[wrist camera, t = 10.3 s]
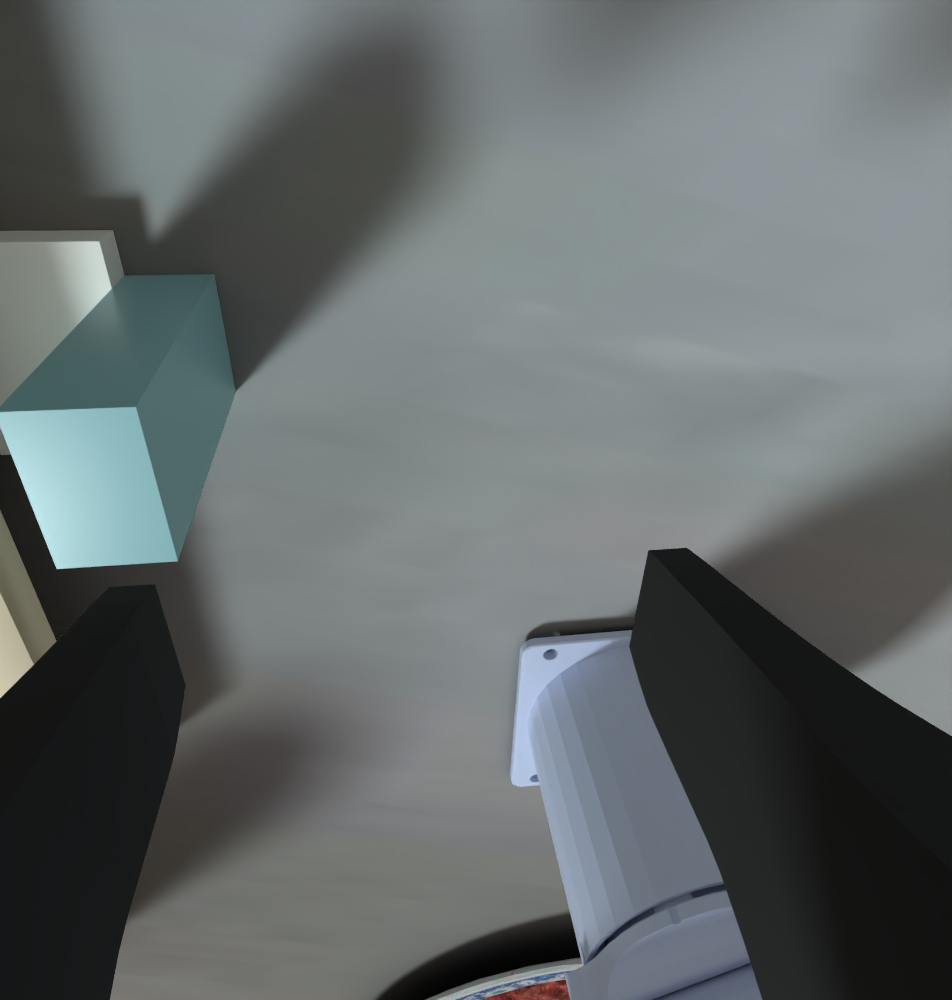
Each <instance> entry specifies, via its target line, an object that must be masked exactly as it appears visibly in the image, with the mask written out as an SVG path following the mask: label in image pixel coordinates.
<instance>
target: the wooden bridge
mask: <svg viewBox="0 0 952 1000" xmlns="http://www.w3.org/2000/svg"><path fill="white" fill-rule="evenodd" d="M55 642H56V639H55V637H54V634H53V632H52V630H51V627H50V625H49V623H48V620H47V618H46V616H45V613H44V611H43V609H42V606H41V604H40V602H39V599H38V597H37V595H36V592H35V590H34V588H33V585H32V583H31V581H30V578H29V576H28V574H27V571H26V569H25V567H24V564H23V562H22V560H21V557H20V555H19V553H18V550H17V548H16V546H15V543H14V541H13V539H12V536H11V534H10V532H9V529H8V527H7V525H6V522H5V520H4V518H3V515H2V513H1V511H0V698H1V697H2V696H3V695H4V694H5V693H6V692H7V691H8V690H9V689H10V688H11V687H12V686H13V685H14V684H15V683H16V682H17V681H18V680H19V679H20V678H21V677H22V676H23V675H24V674H25V673H26V672H27V671H28V670H29V669H30V668H31V667H32V666H33V665H34V664H35V663H36V662H37V661H38V660H39V659H40V658H41V657H42V656H43V655H44V654H45V653H46V652H47V651H48V650H49V649H50V648H51V646H52V645H53V644H54V643H55Z"/></svg>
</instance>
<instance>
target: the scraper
mask: <svg viewBox="0 0 952 1000" xmlns="http://www.w3.org/2000/svg"><path fill="white" fill-rule="evenodd" d="M235 393H236V390H235V384H234V379H233V373H232V368H231V362H230V357H229V351H228V346H227V340H226V335H225V329H224V324H223V318H222V313H221V307H220V302H219V296H218V291H217V285H216V280H215V274H187V275H124V272H123V268H122V264H121V260H120V256H119V252H118V248H117V244H116V240H115V236H114V232H113V230H58V231H0V455H12V458H13V460H14V463H15V465H16V468H17V471H18V473H19V476H20V478H21V481H22V483H23V486H24V488H25V491H26V493H27V496H28V498H29V501H30V503H31V506H32V508H33V511H34V513H35V516H36V518H37V521H38V523H39V526H40V528H41V531H42V533H43V536H44V539H45V541H46V544H47V546H48V549H49V551H50V554H51V556H52V559H53V561H54V564H55V566H56V569H66V568H81V567H97V566H112V565H128V564H144V563H159V562H175V561H178V559H179V556H180V553H181V551H182V548H183V545H184V542H185V539H186V536H187V533H188V530H189V527H190V524H191V521H192V518H193V515H194V513H195V510H196V507H197V504H198V501H199V498H200V495H201V492H202V489H203V486H204V483H205V480H206V477H207V474H208V472H209V469H210V466H211V463H212V460H213V457H214V454H215V451H216V448H217V445H218V442H219V439H220V436H221V434H222V431H223V428H224V425H225V422H226V419H227V416H228V413H229V410H230V407H231V404H232V401H233V398H234V395H235Z"/></svg>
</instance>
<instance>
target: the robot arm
mask: <svg viewBox="0 0 952 1000" xmlns="http://www.w3.org/2000/svg"><path fill="white" fill-rule="evenodd" d="M550 649H553V650H552V651H548V652H546V651H547V650H550ZM184 690H185V683H184V679H183V676H182V673H181V669H180V666H179V663H178V659H177V656H176V653H175V649H174V646H173V643H172V640H171V636H170V633H169V630H168V626H167V623H166V620H165V616H164V613H163V610H162V606H161V603H160V600H159V596H158V593H157V590H156V586H155V584H153V585H139V586H124V587H110V588H108V589H107V590H106V591H105V592H104V593H103V594H102V595H101V596H100V597H99V598H98V599H97V600H96V601H95V602H94V603H93V604H92V605H91V606H90V607H89V608H88V609H87V610H86V611H85V612H84V613H83V614H82V616H81V617H80V618H79V619H78V620H77V621H76V622H75V623H74V624H73V625H72V626H71V627H70V628H69V629H68V630H67V631H66V632H65V633H64V634H63V635H62V636H61V637H60V638H59V639H58V640H57V641H56V642H55V643H54V644H53V645H52V646H51V648H50V649H49V650H48V651H47V652H46V653H45V654H44V655H43V656H42V657H41V658H40V659H39V660H38V661H37V662H36V663H35V664H34V665H33V666H32V667H31V668H30V669H29V670H28V671H27V672H26V673H25V674H24V675H23V676H22V677H21V678H20V679H19V680H18V681H17V682H16V683H15V684H14V685H13V686H12V687H11V688H10V689H9V690H8V691H7V692H6V693H5V694H4V695H3V696H2V697H1V698H0V1000H110V995H111V990H112V985H113V979H114V974H115V969H116V964H117V958H118V953H119V949H120V945H121V941H122V937H123V933H124V929H125V925H126V921H127V917H128V913H129V909H130V906H131V903H132V899H133V896H134V892H135V889H136V886H137V882H138V879H139V875H140V872H141V868H142V865H143V862H144V858H145V855H146V851H147V848H148V844H149V841H150V838H151V834H152V831H153V827H154V824H155V821H156V817H157V814H158V810H159V807H160V803H161V800H162V796H163V793H164V789H165V786H166V782H167V779H168V775H169V772H170V768H171V765H172V761H173V757H174V754H175V748H176V743H177V737H178V731H179V725H180V718H181V711H182V704H183V697H184ZM510 776H511V780H512V783H513V784H514V785H516V786H519V787H524V786H533V785H540V788H541V793H542V797H543V801H544V805H545V809H546V814H547V818H548V822H549V826H550V830H551V835H552V839H553V843H554V847H555V851H556V856H557V860H558V864H559V868H560V872H561V877H562V881H563V885H564V889H565V893H566V898H567V902H568V906H569V910H570V914H571V918H572V923H573V927H574V931H575V935H576V939H577V944H578V948H579V952H580V956H581V960H582V965H583V966H582V967H580V968H578V969H576V970H574V971H572V972H569V973H567V975H566V976H565V978H566V983H567V987H568V992H569V997H570V1000H952V736H950V735H949V734H947V733H945V732H944V731H942V730H940V729H939V728H937V727H935V726H934V725H932V724H930V723H929V722H927V721H925V720H924V719H922V718H920V717H919V716H917V715H916V714H914V713H912V712H911V711H909V710H907V709H906V708H904V707H902V706H901V705H899V704H897V703H896V702H894V701H893V700H891V699H890V698H888V697H887V696H885V695H883V694H882V693H880V692H879V691H877V690H876V689H874V688H873V687H871V686H870V685H868V684H867V683H865V682H864V681H863V680H861V679H860V678H858V677H857V676H855V675H854V674H852V673H851V672H849V671H848V670H847V669H845V668H844V667H842V666H841V665H839V664H838V663H836V662H835V661H834V660H832V659H831V658H829V657H828V656H826V655H825V654H824V653H822V652H821V651H820V650H818V649H817V648H816V647H814V646H813V645H811V644H810V643H809V642H807V641H806V640H805V639H803V638H802V637H801V636H799V635H798V634H797V633H795V632H794V631H793V630H791V629H790V628H789V627H787V626H786V625H785V624H783V623H782V622H781V621H780V620H778V619H777V618H776V617H774V616H773V615H772V614H771V613H769V612H768V611H767V610H765V609H764V608H763V607H762V606H760V605H759V604H758V603H756V602H755V601H754V600H753V599H751V598H750V597H749V596H748V595H746V594H745V593H744V592H743V591H741V590H740V589H739V588H738V587H736V586H735V585H734V584H733V583H731V582H730V581H729V580H728V579H726V578H725V577H724V576H723V575H721V574H720V573H719V572H718V571H716V570H715V569H714V568H712V567H711V566H710V565H709V564H707V563H706V562H705V561H704V560H702V559H701V558H700V557H698V556H697V555H696V554H694V553H693V552H692V551H690V550H689V549H687V548H678V549H663V550H649V551H648V555H647V560H646V565H645V570H644V575H643V580H642V585H641V590H640V595H639V600H638V605H637V610H636V615H635V620H634V625H633V630H627V631H615V632H603V633H591V634H579V635H567V636H555V637H543V638H534V639H530V640H528V641H526V642H525V643H524V644H523V645H522V646H521V649H520V659H519V671H518V683H517V695H516V707H515V719H514V732H513V744H512V756H511V768H510Z"/></svg>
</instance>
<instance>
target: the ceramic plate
mask: <svg viewBox="0 0 952 1000" xmlns="http://www.w3.org/2000/svg"><path fill="white" fill-rule="evenodd" d="M582 966H583V965H582V960H581V958H572V959H567V960H561V961H555V962H549V963H543V964H537V965H531V966H527V967H523V968H519V969H515V970H511V971H508V972H504V973H500V974H496V975H492V976H489V977H485V978H481V979H478V980H475V981H472V982H469V983H466V984H464V985H461V986H458V987H455V988H452V989H449V990H447V991H445V992H442V993H440V994H437V995H435V996H433V997H430V998H428V999H426V1000H570V997H569V992H568V987H567V983H566V978H565V976H566V975H567V973H569V972H572V971H574V970H576V969H578V968H580V967H582Z"/></svg>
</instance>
